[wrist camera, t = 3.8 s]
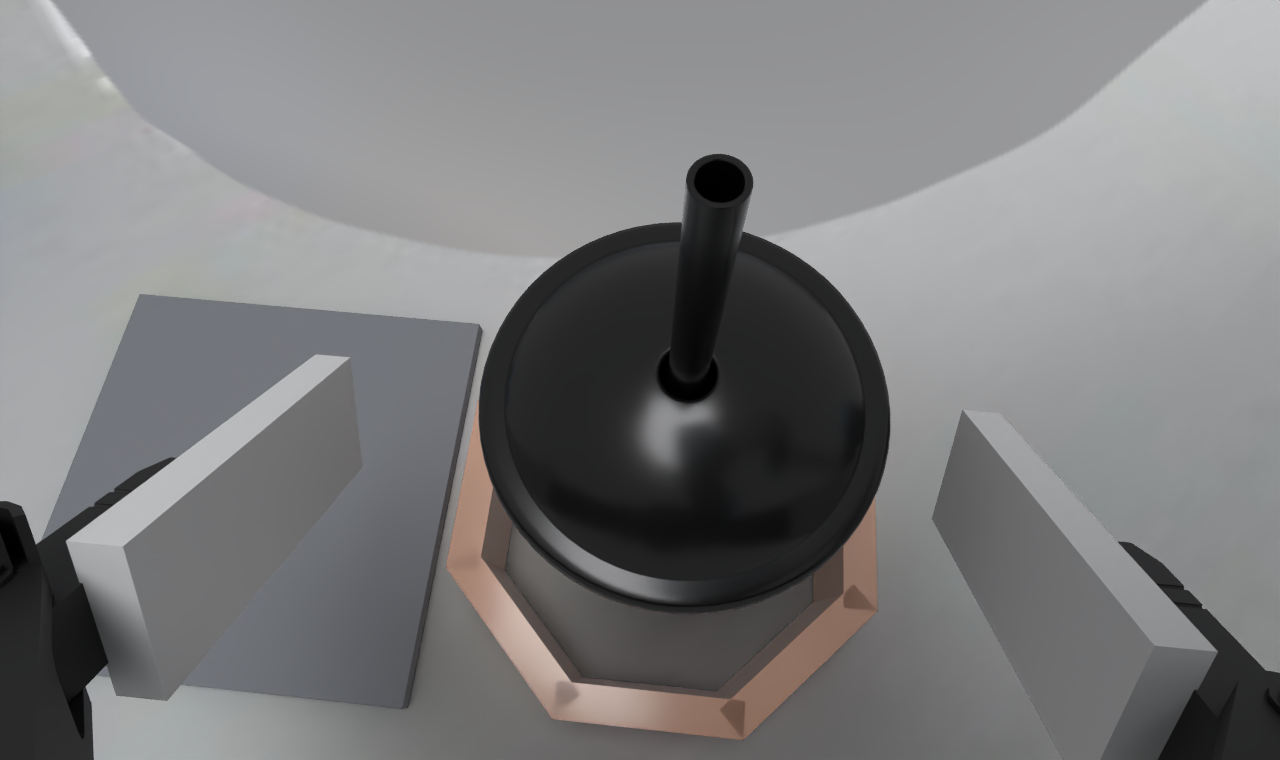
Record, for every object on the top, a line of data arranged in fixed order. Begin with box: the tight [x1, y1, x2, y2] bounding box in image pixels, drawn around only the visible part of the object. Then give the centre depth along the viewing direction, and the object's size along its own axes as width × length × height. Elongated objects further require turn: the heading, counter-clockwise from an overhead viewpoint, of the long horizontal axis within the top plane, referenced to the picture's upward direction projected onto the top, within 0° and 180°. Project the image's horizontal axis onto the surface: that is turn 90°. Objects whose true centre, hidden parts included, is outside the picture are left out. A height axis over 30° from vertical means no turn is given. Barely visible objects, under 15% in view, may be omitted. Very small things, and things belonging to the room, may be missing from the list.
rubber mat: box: [41, 294, 482, 709], centre depth 26 cm, size 14×14×1 cm
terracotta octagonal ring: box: [446, 400, 878, 740], centre depth 24 cm, size 13×13×4 cm
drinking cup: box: [478, 154, 890, 614], centre depth 16 cm, size 8×8×20 cm
